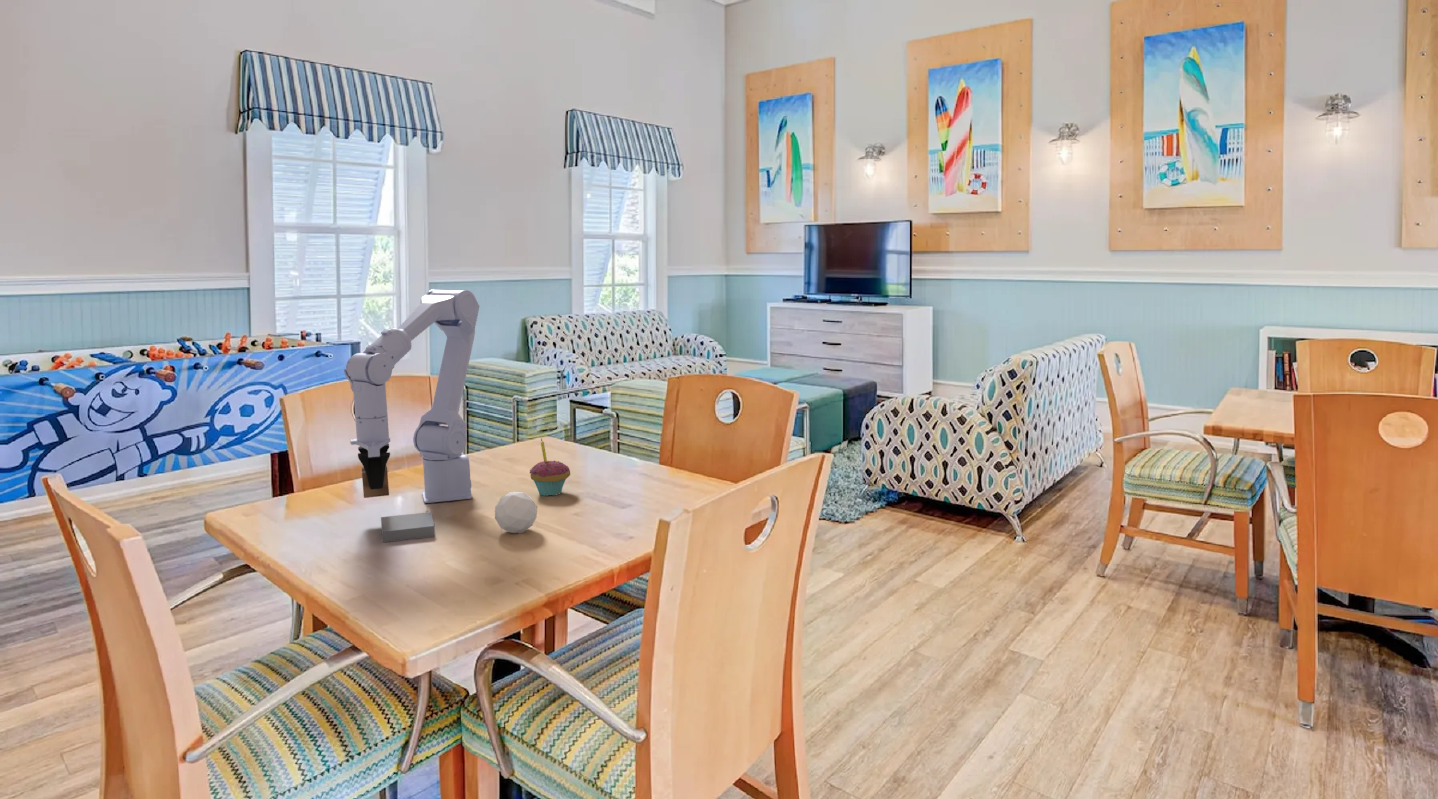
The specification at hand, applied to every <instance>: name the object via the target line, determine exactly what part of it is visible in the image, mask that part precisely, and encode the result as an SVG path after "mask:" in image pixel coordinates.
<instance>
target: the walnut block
mask: <svg viewBox="0 0 1438 799" xmlns="http://www.w3.org/2000/svg"><path fill="white" fill-rule="evenodd" d="M361 478H362V481H361V482H362V489H363V490H362V491H363V499H368V498H369V499H370V498H375V497H376V498H377V497H385V496H386V497H387V496H390V488H389V476H388V465H387V464H386V467H385V473H384V482H383V487H382V488H381V489H371V488H370V486H369V483H368V479H367V475H366V472H365V469H364V467H363V466H362V467H361Z"/></svg>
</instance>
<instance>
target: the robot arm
mask: <svg viewBox="0 0 1438 799" xmlns="http://www.w3.org/2000/svg"><path fill="white" fill-rule="evenodd" d="M479 310H480V305H479V302H478V301H477V298H476V297H475V295H474V293H473V292H472V291H470V290H467V289H463V290H455V289H454V290H452V289H451V290H450V289H449V290H448V289H447V290H446V289H438V288H432V289H430V290H428V291H427V292H426V294H425V295H423V296H421V297H420V303H419V305H418V306H417V307H416V308H415V309H414V310H413V312H412V313H411V314H410V315H408V317H407V318H406V319H405V320H404V321H403V322H402V323H401V324H400V325H399V326H398V327H397V328H395V327H392V328H391V327H390V328H388V329H386V328H385V329H383V330H382V331H381V332H380V333H381V335H380V336H379V337H378V338H376V339H375V341H374V342H372V343H371V344H369V345H367V346H366V347H365V349H364V350H363V352H358V353H354V354H353V355H351V357H350V358H349V359H348V360H347V362H346V365H345V368H344V369H343V371H344V376H345V378H346V379H347V380H348V381H349V384H350V389H351V391H352V395H353V403H354V418H355V419H354V421H355V430H356V438H351V439H350V442H349V443H350V445H356V446H358V447H357V449H358V451H359V453H357V458H358V460H359V461H360V463H361V464H362V467H364V469H365V472H366V475H367V479H368V483H369V486H370V488H371V489H381V488H382V487H383V482H384V473H385V467H386V465H387V463H388V461H389V459H390V456H391V452H388V451H389V448H390V444H389V443H390V442H391V437H390V433H389V432H390V431H389V417H388V405H387V401H388V400H387V390H386V388H387V386H386V383H387V382H388V381H389V380H390V379H391V377H392V373H393V369H394V368H395V366H396V364H398V362H400V360H402V359H403V358H404V357H405V356H406V355H407V354H408V353H409V352H410V351H411V349H412V341H413V340H414V339H415V338H417V337H418V336H419V335H420V334H422V333H423V332H424V331H426V330H427V329H428V328H429V327H430V326H432V325H433V324H435V325H436V326H437V327H438V328H439V330H441V331H443V333H444V334H445V337H446V340H445V346H444V351H443V355H442V360H441V364H440V370H439V374H438V378H437V382H436V386H435V387H436V388H435V393H434V397H433V402H432V407H431V408H430V410H428V411H427V412H426V413H424V414H423V415H421V416H420V421H419V424H418V425H417V427H416V429H415V431H414V434H413V436H412V438H413V441H412V442H413V446H414V448H415V450H417V452H419V456H420V457H421V458H422V463H423V464H422V465H423V484H424V486H423V487H424V491H422V492H421V493H422V495H421V496H422V499H423V503H424V504H431V503H439V502H451V501H460V500H462V501H463V500H470V499H472V480H471V466H470V457H469V455H468V454H462V453H463V452H464V451H465V449H466V445H467V434H466V433H467V432H466V431H467V426H468V424H467V422H466V420H464V419H463V418H462V417H461V415H460V414H459V411H460V408H461V407H460V406H461V401H462V398H463V392H464V388H465V384H466V379H467V375H468V374H467V373H468V370H469V369H468V368H469V363H470V360H471V354H472V350H473V344H474V340H475V334H476V326H477V325H476V324H477V321H478V320H477V319H478V315H479Z"/></svg>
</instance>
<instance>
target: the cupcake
mask: <svg viewBox="0 0 1438 799" xmlns="http://www.w3.org/2000/svg"><path fill="white" fill-rule="evenodd" d="M540 441H541V442H540V446H541V452H542V458H543V460H542V461H540V462H538V463H537V464H535V465H534V466H533V467H531V468H530V470H529V474H530V480H532V481H533V482H534V484H535V486H536V488H537V492H538V495H540V496H542V495H544V496H543V497H549V496H548V495H555V496H557V495H556V494H559V493H560V494H562V491H563V487H564V484H565V482H566V480H567V479H568V478H570V476H571V470H570V467H569V466H568V465H567V464H564V463H563V462H561V461H557V460H548V459H547V452H546V445H545V442H544V441H543V439H542V438H540ZM560 494H559V495H560ZM545 495H546V496H545Z"/></svg>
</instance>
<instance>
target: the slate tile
mask: <svg viewBox="0 0 1438 799" xmlns="http://www.w3.org/2000/svg"><path fill="white" fill-rule="evenodd" d="M380 522H381V523H380V524H381V538H382V543H387V542H397V541H407V540H414V539H415V540H416V539H423V538H430V537H431V538H432V537H435V536H436V532H435V523H434V520H433V515H432V511H427V512H418V513H407V514H401V515H400V514H399V515H389V516H381V517H380Z"/></svg>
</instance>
